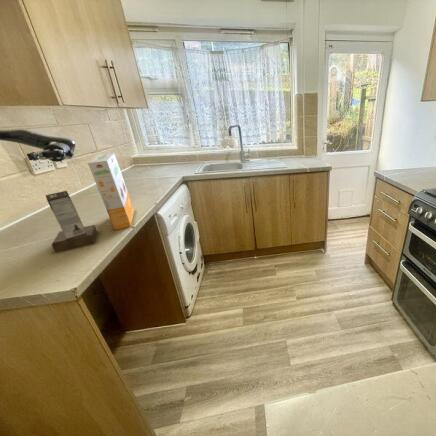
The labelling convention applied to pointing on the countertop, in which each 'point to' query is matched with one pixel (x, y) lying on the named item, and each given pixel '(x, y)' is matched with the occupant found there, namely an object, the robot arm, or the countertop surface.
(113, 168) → the cereal box
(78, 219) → the coffee box
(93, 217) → the countertop surface
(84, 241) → the block
